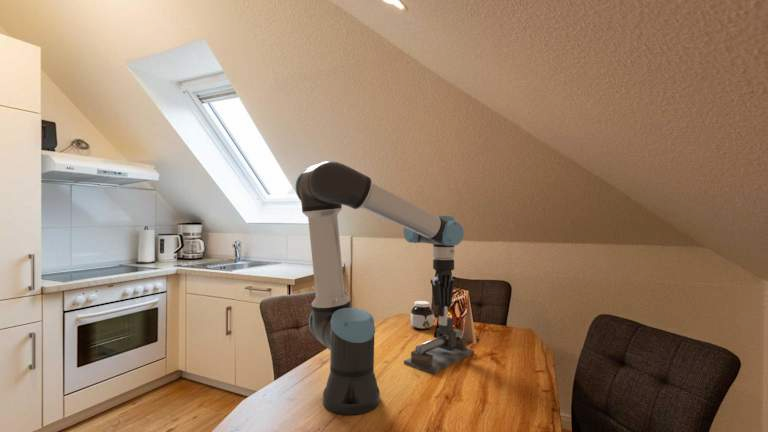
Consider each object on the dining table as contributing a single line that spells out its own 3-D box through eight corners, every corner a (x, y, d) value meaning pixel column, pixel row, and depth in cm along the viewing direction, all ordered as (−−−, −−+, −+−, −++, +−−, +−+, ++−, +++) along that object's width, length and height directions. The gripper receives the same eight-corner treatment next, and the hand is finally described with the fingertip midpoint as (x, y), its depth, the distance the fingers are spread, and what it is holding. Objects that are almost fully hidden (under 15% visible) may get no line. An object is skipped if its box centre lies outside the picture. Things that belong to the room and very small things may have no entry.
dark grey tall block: (451, 351, 129) (451, 320, 129) (435, 346, 133) (436, 316, 133) (455, 349, 131) (456, 318, 131) (440, 344, 135) (441, 315, 135)
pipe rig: (433, 374, 116) (433, 360, 116) (403, 363, 124) (404, 350, 124) (473, 353, 135) (473, 340, 135) (445, 345, 143) (446, 333, 143)
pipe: (423, 356, 119) (423, 346, 119) (415, 353, 121) (415, 343, 121) (462, 338, 138) (462, 330, 138) (455, 336, 140) (455, 328, 140)
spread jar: (411, 330, 161) (412, 304, 161) (407, 323, 172) (408, 298, 172) (438, 330, 162) (439, 304, 162) (433, 323, 173) (433, 298, 174)
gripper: (442, 260, 123) (441, 331, 123) (462, 258, 133) (461, 323, 133) (424, 259, 128) (423, 326, 128) (444, 256, 138) (444, 319, 138)
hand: (442, 324), depth 130 cm, fingers closed
